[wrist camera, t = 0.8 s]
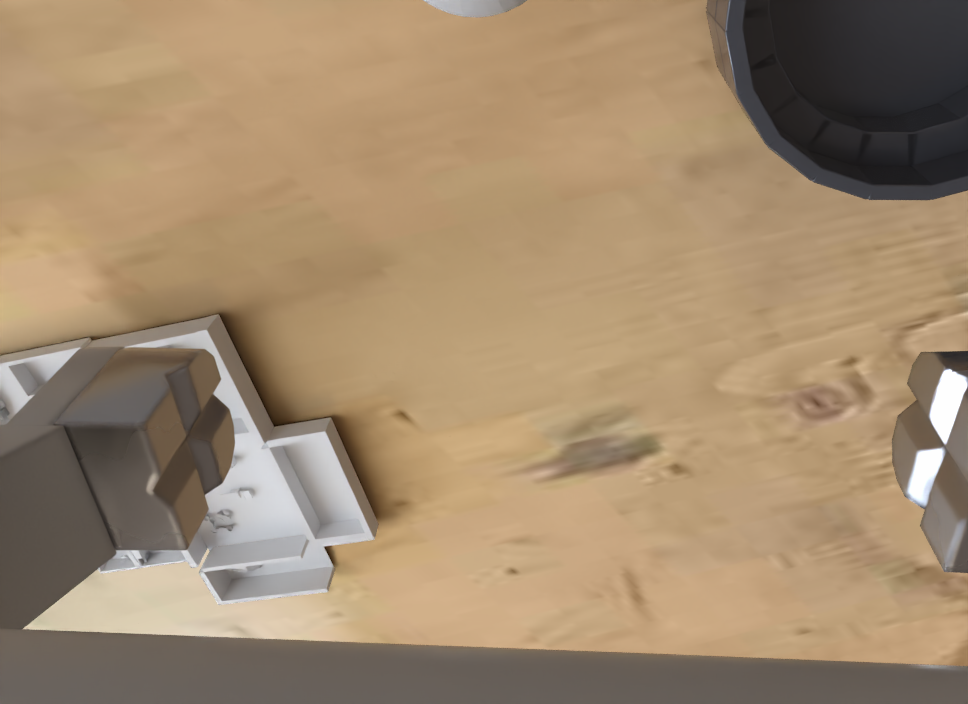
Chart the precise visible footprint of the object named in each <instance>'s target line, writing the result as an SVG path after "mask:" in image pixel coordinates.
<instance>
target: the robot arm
mask: <svg viewBox="0 0 968 704" xmlns="http://www.w3.org/2000/svg"><path fill="white" fill-rule="evenodd" d="M220 381H221V377H220V373H219V370H218V367H217V364H216V361H215V358H214V356H213V355H212V354H211V353H209V352H208V351H207V350H206V349H189V348H145V347H128V348H125V347H88V348H83V349H78V350H77V351H76V352H75V353H74V354H73V355H72V356H71V358H70V359H69V360H68V361H67V362H66V363H65V364H64V365H63V366H62V367H61V368H60V369H59V370H58V371H57V372H56V373H55V374H54V375H53V376H52V377H51V378H50V379H49V380H48V381H47V382H46V383H45V385H44V386H43V387H42V388H41V389H40V390H39V391H38V392H37V393H36V394H35V395H34V396H33V397H32V398H31V399H30V400H29V401H28V402H27V403H26V404H25V405H24V406H23V407H22V408H21V409H20V410H19V412H18V413H17V414H16V415H15V416H14V417H13V418H12V419H11V420H10V421H9V422H8V423H7V424H6V425H0V704H968V666H947V665H923V664H898V663H873V662H848V661H824V660H799V659H774V658H750V657H725V656H700V655H676V654H650V653H623V652H597V651H570V650H544V649H517V648H491V647H464V646H438V645H411V644H385V643H358V642H332V641H306V640H281V639H255V638H230V637H204V636H179V635H153V634H127V633H102V632H76V631H51V630H25V629H23V628H24V627H25V626H27V625H28V624H29V623H30V622H32V621H33V620H34V619H35V618H37V617H38V616H39V615H40V614H42V613H43V612H44V611H45V610H47V609H48V608H49V607H51V606H52V605H53V604H54V603H56V602H57V601H58V600H59V599H61V598H62V597H63V596H64V595H66V594H67V593H68V592H69V591H71V590H72V589H73V588H74V587H76V586H77V585H78V584H79V583H81V582H82V581H83V580H84V579H86V578H87V577H88V576H89V575H91V574H92V573H93V572H94V571H96V570H97V569H98V568H99V567H101V566H102V565H103V564H105V563H106V562H107V561H108V560H110V559H111V558H112V557H113V556H115V555H116V550H187V549H188V547H189V546H190V544H191V542H192V540H193V538H194V536H195V534H196V533H197V531H198V529H199V527H200V525H201V523H202V521H203V520H204V518H205V516H206V514H207V512H208V510H209V508H208V505H207V501H206V498H205V495H206V494H207V493H209V492H210V491H212V490H213V489H215V488H216V487H218V486H219V485H221V484H222V483H223V482H224V480H225V478H226V476H227V474H228V472H229V470H230V468H231V464H232V458H233V453H234V447H235V435H234V424H233V420H232V417H231V413H230V409H229V408H228V407H227V406H226V405H225V404H224V403H222V402H221V401H220V400H219V399H218V398H217V397H216V396H215V395H214V392H215V390H216V388H217V386H218V384H219V383H220ZM907 384H908V386H909V388H910V389H911V391H912V392H913V394H914V396H915V397H916V399H917V400H916V401H915V402H914V403H912V404H911V405H910V406H909V407H908V408H906V409H905V410H904V411H903V412H902V413H901V414H899V415H898V417H897V421H896V426H895V430H894V434H893V438H892V463H893V467H894V471H895V475H896V479H897V481H898V483H899V486H900V488H901V490H902V492H903V494H904V496H905V497H906V498H908V499H909V500H911V501H912V502H914V503H915V504H917V505H918V506H920V507H921V508H923V509H924V510H925V511H924V514H923V517H922V520H921V524H920V527H921V529H922V531H923V532H924V534H925V536H926V538H927V540H928V542H929V544H930V546H931V548H932V550H933V551H934V553H935V555H936V557H937V559H938V561H939V563H940V565H941V567H942V568H943V570H944V572H960V573H968V351H952V352H921V353H920V354H919V356H918V357H917V359H916V360H915V362H914V363H913V365H912V369H911V372H910V375H909V379H908V382H907Z"/></svg>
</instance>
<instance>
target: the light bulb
mask: <svg viewBox="0 0 968 704" xmlns="http://www.w3.org/2000/svg"><path fill="white" fill-rule="evenodd" d="M424 1H425V2H427V3H429V4H430V5H432V6H434V7H435V8H437V9H440V10H442V11H445V12H447V13H450V14H454V15H459V16H463V17H486V16H493V15H497V14H500V13H504V12H507V11H509V10H511V9H513V8H515V7H517V6H519V5H521V4H523V3H524V2H525V1H527V0H424Z"/></svg>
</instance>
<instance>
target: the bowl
mask: <svg viewBox="0 0 968 704" xmlns="http://www.w3.org/2000/svg"><path fill="white" fill-rule="evenodd" d="M706 9H707V11H706V13H707V18H708V23H709V28H710V33H711V38H712V43H713V48H714V53H715V58H716V63H717V67H718V69H719V71H720V73H721V75H722V76H723V78H724V80H725V81H726V83H727V85H728V86H729V88H730V90H731V91H732V93H733V95H734V97H735V98H736V100H737V102H738V103H739V105H740V107H741V108H742V110H743V112H744V113H745V115H746V116H747V118H748V119H749V121H750V122H751V123H752V125H753V126H754V128H755V129H756V131H757V132H758V134H759V135H760V137H761V138H762V140H763V141H764V143H765V144H766V145H767V146H768V148H770V149H771V150H772V151H773V152H775V153H776V154H777V155H778V156H780V157H781V158H782V159H784V160H785V161H786V162H787V163H789V164H790V165H791V166H792V167H794V168H795V169H796V170H798V171H799V172H800V173H801V174H803V175H804V176H805V177H806V178H808V179H809V180H810V181H813V182H814V183H818V184H821V185H824V186H827V187H830V188H833V189H836V190H839V191H842V192H845V193H848V194H851V195H854V196H857V197H860V198H863V199H869V200H930V199H931V200H933V199H937V198H941V197H945V196H948V195H952V194H956V193H960V192H963V191H967V190H968V0H707V7H706Z"/></svg>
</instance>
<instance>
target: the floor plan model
mask: <svg viewBox="0 0 968 704" xmlns="http://www.w3.org/2000/svg"><path fill="white" fill-rule="evenodd" d="M88 347H125V348H128V347H145V348H189V349H206V350H207V351H208V352H209V353H211V354H212V355H213V356H214V358H215V361H216V364H217V367H218V370H219V373H220V377H221V381H220V383H219V384H218V386H217V388H216V390H215V392H214V395H215V396H216V397H217V398H218V399H219V400H220V401H221V402H222V403H224V404H225V405H226V406H227V407H228V408H229V409H230V413H231V417H232V420H233V424H234V435H235V447H234V453H233V458H232V464H231V468H230V470H229V472H228V474H227V476H226V478H225V480H224V482H223V483H222V484H221V485H219V486H218V487H216V488H215V489H213V490H212V491H210V492H209V493H207V494H206V495H205V498H206V501H207V505H208V508H209V510H208V512H207V514H206V516H205V518H204V520H203V521H202V523H201V525H200V527H199V529H198V531H197V533H196V534H195V536H194V538H193V540H192V542H191V544H190V546H189V547H188V549H187V550H116V555H115V556H113V557H112V558H111V559H110V560H108V561H107V562H106V563H105V564H103V565H102V566H101V567H99V568H98V570H99V572H100V573H109V572H116V571H124V570H131V569H139V568H143V567H151V566H158V565H166V564H173V563H181V562H188V563H189V565H190V567H191V568H194V567H198V566H199V564H200V562H201V560H202V558H203V556H204V554H205V552H206V550H207V548H208V549H209V551H210V552H209V553H208V555H207V557H206V559H205V561H204V563H203V565H202V567H201V569H200V571H199V574H200V576H201V577H202V579H203V581H204V582H205V584H206V585H207V587H208V589H209V590H210V592H211V593H212V595H213V597H214V598H215V600H216V601H217V603H218V605H222V604H231V603H239V602H247V601H256V600H264V599H272V598H281V597H289V596H297V595H306V594H314V593H323V592H328V591H329V587H330V584H331V581H332V578H333V575H334V572H335V568H334V566H333V564H332V562H331V560H330V558H329V556H328V554H327V552H326V550H325V548H324V546H332V545H340V544H347V543H355V542H362V541H368V540H374V539H375V536H376V532H377V529H378V525H379V524H378V522H377V520H376V517H375V515H374V513H373V511H372V508H371V506H370V504H369V502H368V499H367V497H366V495H365V493H364V490H363V488H362V486H361V484H360V481H359V479H358V477H357V475H356V472H355V470H354V468H353V466H352V463H351V461H350V459H349V457H348V454H347V452H346V450H345V448H344V445H343V443H342V441H341V439H340V436H339V434H338V432H337V430H336V427H335V425H334V423H333V421H332V418H331V417H330V418H324V419H318V420H312V421H306V422H300V423H294V424H288V425H282V426H276V427H274V426H273V424H272V422H271V420H270V418H269V416H268V414H267V412H266V410H265V407H264V405H263V403H262V401H261V399H260V397H259V395H258V393H257V391H256V389H255V387H254V385H253V383H252V381H251V379H250V377H249V375H248V373H247V371H246V369H245V367H244V365H243V363H242V361H241V359H240V357H239V355H238V353H237V351H236V349H235V347H234V345H233V343H232V341H231V338H230V336H229V334H228V332H227V330H226V328H225V326H224V324H223V322H222V320H221V318H220V316H219V314H217V315H212V316H208V317H205V318H200V319H196V320H191V321H186V322H181V323H176V324H171V325H166V326H161V327H156V328H152V329H147V330H142V331H137V332H132V333H127V334H122V335H117V336H112V337H107V338H103V339H98V340H93V341H92V340H91V339H90V337H89V338H84V339H79V340H74V341H70V342H65V343H60V344H55V345H50V346H45V347H40V348H35V349H31V350H26V351H21V352H16V353H11V354H6V355H1V356H0V425H6V424H7V423H8V422H9V421H10V420H11V419H12V418H13V417H14V416H15V415H16V414H17V413H18V412H19V410H20V409H21V408H22V407H23V406H24V405H25V404H26V403H27V402H28V401H29V400H30V399H31V398H32V397H33V396H34V395H35V394H36V393H37V392H38V391H39V390H40V389H41V388H42V387H43V386H44V385H45V383H46V382H47V381H48V380H49V379H50V378H51V377H52V376H53V375H54V374H55V373H56V372H57V371H58V370H59V369H60V368H61V367H62V366H63V365H64V364H65V363H66V362H67V361H68V360H69V359H70V358H71V356H72V355H73V354H74V353H75V352H76V351H77V350H78V349H83V348H88ZM298 535H299V536H298ZM290 536H291V537H290ZM283 537H284V538H283ZM276 538H277V539H276ZM261 540H262V541H261ZM254 541H255V542H254ZM247 542H248V543H247ZM239 543H240V544H239ZM232 544H233V545H232ZM225 545H226V546H225ZM217 546H218V547H217Z"/></svg>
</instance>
